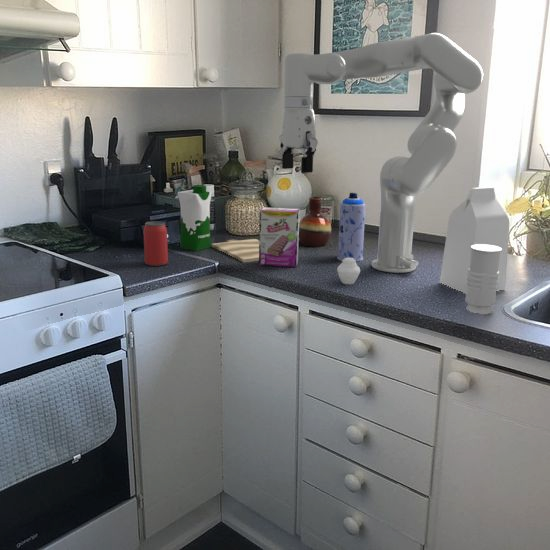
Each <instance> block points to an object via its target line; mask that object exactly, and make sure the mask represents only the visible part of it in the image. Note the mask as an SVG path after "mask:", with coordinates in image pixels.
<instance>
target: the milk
mask: <svg viewBox="0 0 550 550" xmlns="http://www.w3.org/2000/svg"><path fill="white" fill-rule="evenodd" d="M467 195H468V196H466V199H465V200H464V201H462V202H461V203H460V204H459V205H458V206H457V207H455V208H454V210H452V212H450V214H449V218H448V222H447V230H446V237H445V244H444V249H443V256H442V261H441V262H442V263H441V271H440V276H439V284H441V283H442V284H441V285H443V284H444V285H443V286H445V285H447V286H446V287H448V286H449V287H448V288H450V287H451V288H450V289H452V288H453V289H452V290H454V289H456V290H455V291H457V290H458V291H457V292H459V291H461V292H463V293H462V294H464V293H465V294H464V295H466V292H467V287H466V284H467V283H468V282H467V279H468V277H467V275H468V269H469V268H470V261H471V252H472V249H471V246H472V245H476V244H486V245H494V246H498V247H500V248H502V251H501V252H500V259H499V267H498V271H499V276H498V277H499V280H498V285H497V290H504V289H505V290H506V285H507V274H508V273H507V270H508V253H509V239H510V237H509V236H510V218H509V216H508V214H507V212H506V211H505V210H504V208H503V207H502V206H501V204H500V202H499V201H498V199H497V197H496V193H495V187H491V186H483V187H472V188H471V189H470V191H469V193H468V194H467ZM497 290H496V291H497ZM461 292H460V293H461Z"/></svg>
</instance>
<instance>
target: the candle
mask: <svg viewBox="0 0 550 550" xmlns="http://www.w3.org/2000/svg"><path fill="white" fill-rule="evenodd" d="M471 249H472V252H471V261H470V268H469V269H468V275H467V277H468V279H467V282H468V283H467V284H466V287H467V292H466V294H465V299H464V301H465V303H467V306H466V308H465V310H466V309H467V310H469V311H470V312H469V311H468V312H469V313H472V312H473V313H472V314H476V313H479V314H478V315H489V314H488V313H490V314H492V313H493V309H492V307H493V306H495V305H496V297H497V295H496V294H497V292H496V290H497V285H498V280H499V277H498V276H499V271H498V267H499V259H500V252H501V251H502V248H500V247H498V246H494V245H486V244H476V245H472V246H471ZM467 310H466V311H467Z"/></svg>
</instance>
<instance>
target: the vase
mask: <svg viewBox="0 0 550 550" xmlns="http://www.w3.org/2000/svg"><path fill="white" fill-rule="evenodd" d="M322 200H323V199H322V197H321V196H311V197H308V201H309V203H308V204H309V206H308V207H309V212H308V213H307V214H305V215H304V216H303V217H302V218H301V219H299V240H298V241H299V242H300V243H301V244H302V245H304V246H307V247H323V246H325V245H327V244H328V242H329V241H330V239H331V236H332V235H331V234H332V225H331V222H330V221H329V219H328V218H327V217H326V216H325V215H324V214H322V210H321V209H322Z"/></svg>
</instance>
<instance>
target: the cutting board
mask: <svg viewBox="0 0 550 550" xmlns="http://www.w3.org/2000/svg"><path fill="white" fill-rule="evenodd" d="M211 248H213V249H215V250H217V251H219V252H221V251H222V252H221V253H223V252H224V253H223V254H225V253H226V255H227V254H228V255H227V256H229V255H230V257H231V256H232V258H233V257H234V258H233V259H235V258H236V260H237V259H238V260H237V261H239V262H242V263H252V262H259V239H257V238H250V239H249V238H248V239H242V240H240V239H239V240H237V239H226V242H225V241H224V242H217V243H216V242H215V243H211Z"/></svg>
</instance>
